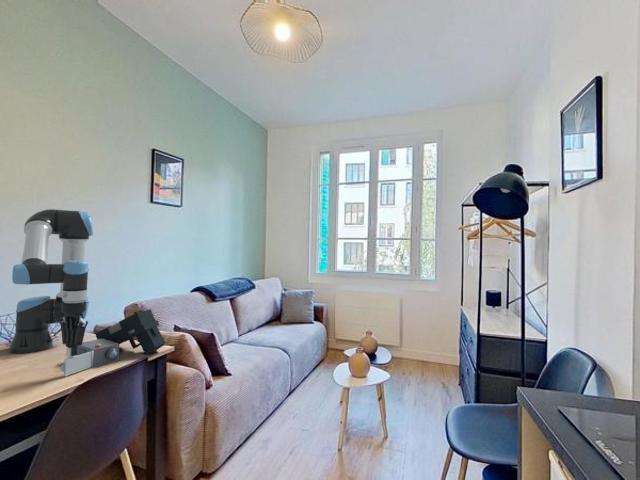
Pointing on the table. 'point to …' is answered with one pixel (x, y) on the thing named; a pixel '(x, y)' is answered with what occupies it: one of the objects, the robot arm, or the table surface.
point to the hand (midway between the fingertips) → (71, 363)
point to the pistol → (135, 331)
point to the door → (77, 363)
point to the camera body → (100, 351)
